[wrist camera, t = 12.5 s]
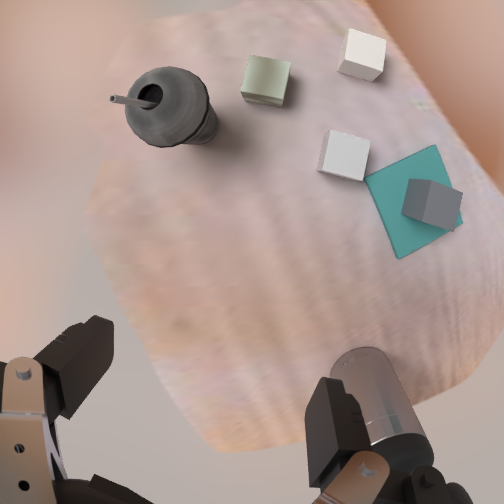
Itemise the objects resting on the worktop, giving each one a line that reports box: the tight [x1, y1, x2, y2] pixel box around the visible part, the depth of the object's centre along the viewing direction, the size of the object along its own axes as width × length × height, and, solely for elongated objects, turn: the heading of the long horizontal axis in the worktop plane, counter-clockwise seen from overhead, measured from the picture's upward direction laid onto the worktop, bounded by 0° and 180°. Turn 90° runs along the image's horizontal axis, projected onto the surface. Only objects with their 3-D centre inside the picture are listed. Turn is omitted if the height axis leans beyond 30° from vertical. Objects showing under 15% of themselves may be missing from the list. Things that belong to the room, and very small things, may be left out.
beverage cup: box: [109, 67, 218, 148], centre depth 24 cm, size 7×7×20 cm
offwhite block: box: [337, 28, 386, 82], centre depth 28 cm, size 4×4×4 cm
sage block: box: [241, 55, 291, 108], centre depth 30 cm, size 4×4×4 cm
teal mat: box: [364, 145, 463, 259], centre depth 33 cm, size 11×11×1 cm
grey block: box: [317, 129, 371, 181], centre depth 32 cm, size 4×4×4 cm
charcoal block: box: [401, 178, 463, 232], centre depth 30 cm, size 4×4×6 cm
